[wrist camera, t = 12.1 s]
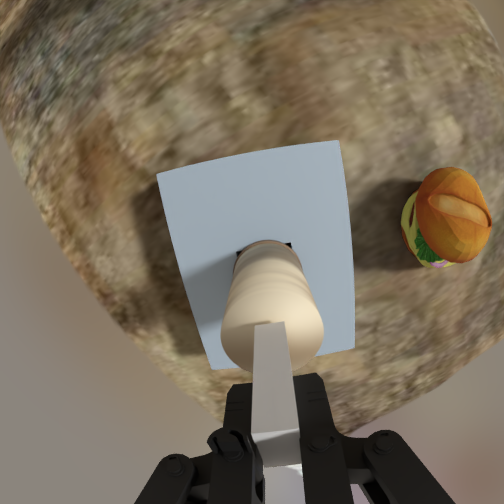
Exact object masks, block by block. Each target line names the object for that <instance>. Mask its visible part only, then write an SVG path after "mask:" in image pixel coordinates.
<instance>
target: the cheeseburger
mask: <svg viewBox="0 0 504 504" xmlns="http://www.w3.org/2000/svg"><path fill="white" fill-rule="evenodd" d="M401 228H402V237H403V239H404V241H405V243H406V246H407V248H408V250H409V251H410V252H411V253H412V254H413V255H414V256H415V257H416V258H417V259H418V260H419V261H420V263H421V264H422V265H423V266H426V267H429V268H436V267H437V268H438V267H447V266H450V265H452V264H454V263H464V262H467V261H470V260H472V259H473V258H475V257H476V256H477V255H478V254H479V252H480V251H481V250H482V249H483V247H484V246H485V244H486V242H487V240H488V238H489V235H490V231H491V228H492V218H491V215H490V213H489V210H488V208H487V205H486V203H485V200H484V198H483V195H482V193H481V190H480V188H479V186H478V184H477V183H476V181H475V179H474V178H473V176H471V175H470V174H469V173H467V172H466V171H464V170H462V169H459V168H454V167H447V168H440V169H436V170H434V171H433V172H431V173H430V174H429V175H428V176H426V177H425V179H424V180H423V182H422V184H421V186H420V187H419V189H418V190H416V191H415V192H413V194H412V195H411V197H409V199H408V201H407V203H406V204H405V206H404V209H403V212H402V218H401Z"/></svg>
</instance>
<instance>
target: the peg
mask: <svg viewBox="0 0 504 504" xmlns="http://www.w3.org/2000/svg"><path fill="white" fill-rule="evenodd" d="M282 321H284V322H285V329H286V335H287V342H288V348H289V355H290V362H291V369H292V371H295V370H297V369H299V368H301V367H302V366H304V365H305V364H307V363H308V362H309V361H310V360H311V359H312V358H313V357H314V356H315V355H316V353H317V352H318V351H319V349H320V347H321V344H322V341H323V337H324V327H323V322H322V319H321V316H320V314H319V311H318V309H317V306H316V303H315V301H314V298H313V296H312V293H311V291H310V288H309V285H308V283H307V280H306V278H305V275H304V273H303V269H302V265H301V262H300V260H299V258H298V256H297V254H296V253H295V252H294V251H293V249H292V248H290V247H289V246H288V245H286V244H284V243H282V242H279V241H276V240H260V241H257V242H254V243H252V244H250V245H248V246H247V247H245V248H244V249H243V250H242V251H241V253H240V254H239V255H238V257H237V259H236V261H235V264H234V268H233V278H232V282H231V286H230V291H229V295H228V300H227V304H226V308H225V313H224V317H223V322H222V326H221V332H220V338H221V344H222V347H223V349H224V351H225V353H226V355H227V356H228V357H229V359H230V360H231V361H232V362H233V363H235V364H236V365H237V366H239V367H240V368H242V369H244V370H246V371H249V372H252V373H253V362H254V330H255V326H256V325H263V324H269V323H276V322H282Z"/></svg>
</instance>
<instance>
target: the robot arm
mask: <svg viewBox="0 0 504 504" xmlns="http://www.w3.org/2000/svg"><path fill="white" fill-rule="evenodd" d="M207 443H208V445H209V446H210V448H211V450H212V452H210V453H208V454H206V455H203V456H198V457H194V458H190V459H189V458H188V457H187V456H185V455H183V454H171V455H168V456H166V457H164V458H163V459H162V460H161V461H160V462H159V464H158V466H157V467H156V469H155V470H154V472H153V474H152V475H151V477H150V479H149V480H148V482H147V484H146V485H145V487H144V489H143V490H142V492H141V493H140V495H139V497H138V498H137V500H136V502H135V503H134V504H265V478H264V475H263V465H264V467H277V466H286V465H294V464H301V463H302V472H303V482H304V492H305V502H306V504H354V501H353V496H352V491H351V486H350V484H358V485H359V486H360V488H361V490H362V491H363V493H364V495H365V496H366V498H367V500H368V501H369V503H370V504H455V502H454V501H453V500H452V499H451V498H450V496H449V495H448V494H447V493H446V491H445V490H444V489H443V488H442V487H441V485H440V484H439V483H438V482H437V480H436V479H435V478H434V477H433V476H432V474H431V473H430V472H429V471H428V469H427V468H426V467H425V466H424V465H423V463H422V462H421V461H420V459H419V458H418V457H417V456H416V455H415V453H414V452H413V451H412V450H411V448H410V447H409V446H408V445H407V443H406V442H405V441H404V440H403V439H402V437H401V436H400V435H399V434H397V433H396V432H394V431H391V430H380V431H377V432H374V433H373V434H372V435H370V436H369V437H368V438H352V437H347V436H344V435H342V434H341V433H339V432H338V431H337V429H336V428H335V426H334V422H333V418H332V414H331V410H330V406H329V402H328V398H327V394H326V391H325V386H324V382H323V379H322V378H321V377H320V376H319V375H318V374H317V373H311V374H305V375H299V376H292V369H291V362H290V355H289V348H288V342H287V335H286V329H285V322H284V321H282V322H276V323H269V324H263V325H256V326H255V330H254V362H253V383H244V384H233V386H232V387H231V389H230V390H229V392H228V393H227V400H226V408H225V415H224V423H223V428H220V429H218V430H216V431H214V432H213V433H212V434H211V435H210V436H209V438H208V440H207Z"/></svg>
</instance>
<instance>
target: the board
mask: <svg viewBox="0 0 504 504" xmlns="http://www.w3.org/2000/svg"><path fill="white" fill-rule="evenodd" d="M156 175H157V180H158V184H159V189H160V194H161V198H162V203H163V207H164V211H165V215H166V220H167V224H168V228H169V232H170V236H171V240H172V243H173V247H174V251H175V255H176V258H177V262H178V266H179V269H180V273H181V276H182V280H183V283H184V286H185V290H186V293H187V296H188V300H189V303H190V306H191V309H192V313H193V316H194V319H195V322H196V325H197V328H198V331H199V334H200V337H201V340H202V343H203V346H204V348H205V351H206V354H207V357H208V360H209V362H210V365H211V368H212V370H216V369H228V368H238V367H239V366H237V365H236V364H235V363H233V362H232V361H231V360H230V359H229V357H228V356H227V355H226V353H225V351H224V349H223V347H222V344H221V338H220V332H221V326H222V322H223V317H224V313H225V308H226V304H227V300H228V295H229V291H230V286H231V282H232V278H233V268H234V264H235V261H236V259H237V257H238V255H239V254H240V253H241V251H242V250H243V249H244V248H245V247H247V246H248V245H250V244H252V243H254V242H257V241H260V240H276V241H279V242H282V243H288V246H289V247H290V248H292V249H293V251H294V252H295V253H296V254H297V256H298V258H299V260H300V262H301V265H302V269H303V273H304V275H305V278H306V280H307V283H308V285H309V288H310V291H311V293H312V296H313V298H314V301H315V303H316V306H317V309H318V311H319V314H320V316H321V319H322V322H323V327H324V337H323V341H322V344H321V347H320V349H319V351H318V352H317V353H316V355H315V356H319V355H324V354H329V353H334V352H338V351H343V350H347V349H352V348H354V345H355V297H354V270H353V253H352V239H351V228H350V217H349V208H348V199H347V191H346V184H345V177H344V170H343V163H342V157H341V151H340V145H339V140H335V141H326V142H317V143H308V144H301V145H293V146H286V147H280V148H273V149H267V150H261V151H255V152H250V153H245V154H239V155H234V156H229V157H224V158H220V159H215V160H211V161H206V162H202V163H197V164H193V165H189V166H185V167H181V168H177V169H173V170H170V171H166V172H162V173H159V174H156Z"/></svg>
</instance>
